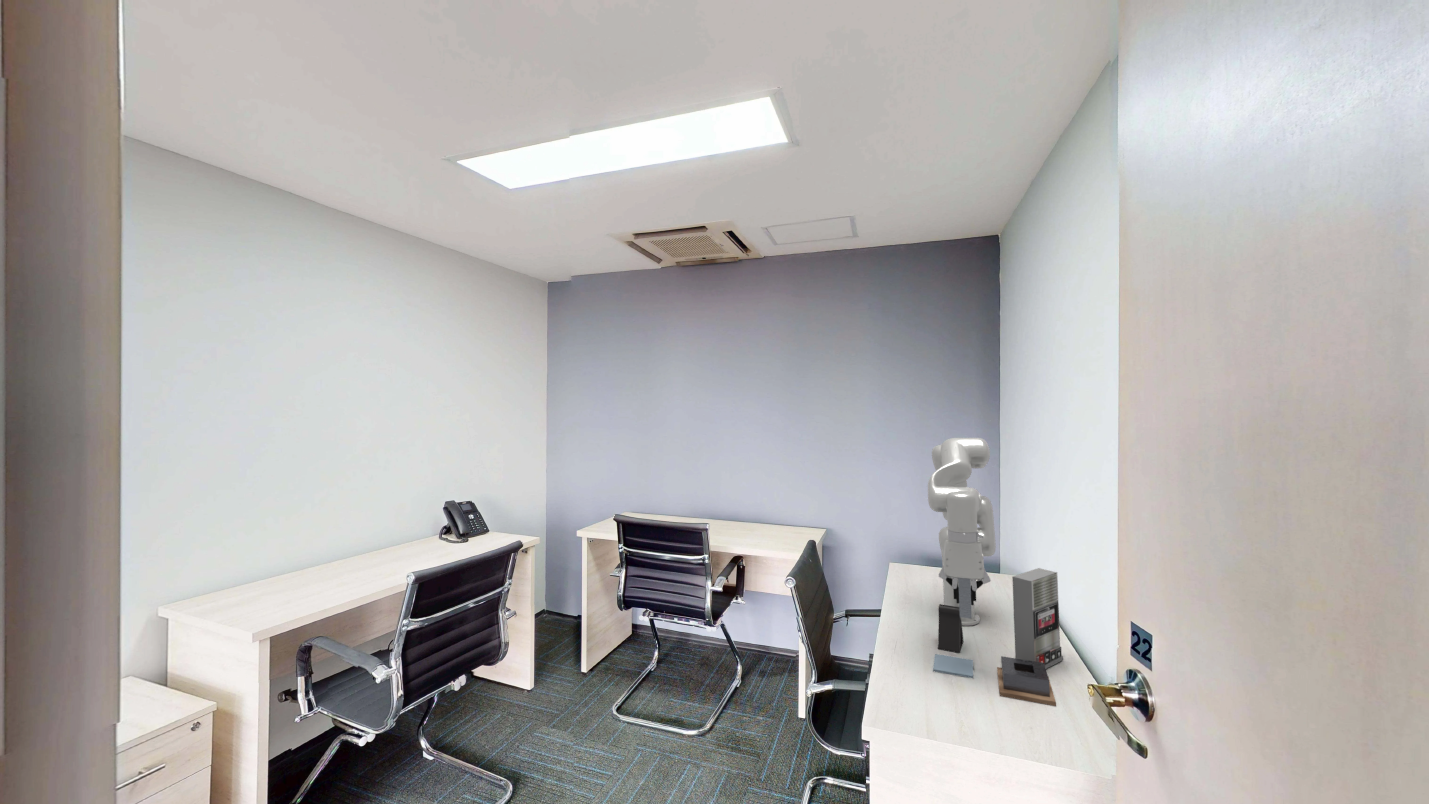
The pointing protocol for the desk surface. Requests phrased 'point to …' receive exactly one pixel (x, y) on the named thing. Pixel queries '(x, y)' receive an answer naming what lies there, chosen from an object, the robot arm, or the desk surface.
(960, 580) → the key peg
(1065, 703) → the desk surface
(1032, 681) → the block
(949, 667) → the mat
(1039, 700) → the stand
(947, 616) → the phone stand
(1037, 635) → the cassette tape recorder
